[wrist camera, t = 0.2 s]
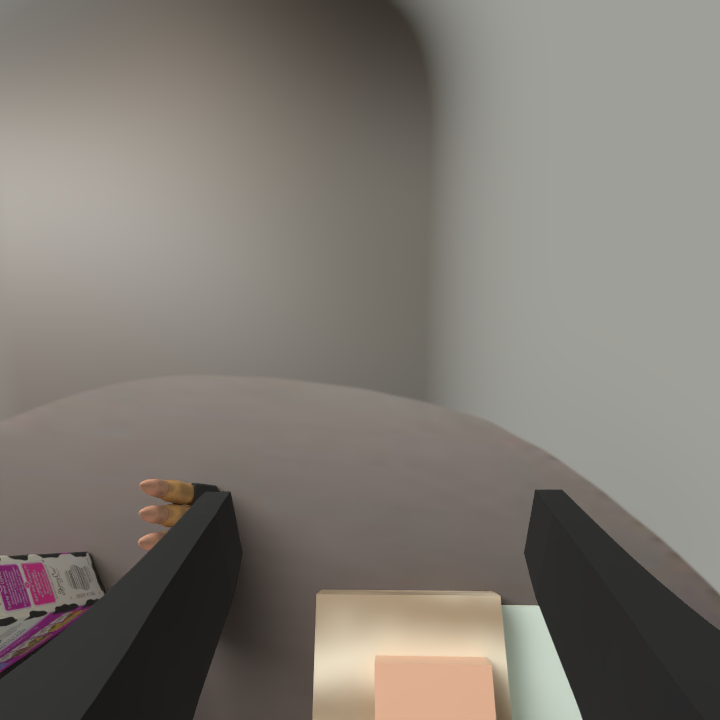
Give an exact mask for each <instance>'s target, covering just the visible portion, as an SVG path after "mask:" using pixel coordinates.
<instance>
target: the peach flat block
mask: <svg viewBox="0 0 720 720" xmlns="http://www.w3.org/2000/svg"><path fill="white" fill-rule="evenodd" d="M375 720H496V711H495V699H494V687H493V675H492V665H491V664H490V662H489V661H488V660H487V659H486V657H457V656H396V655H375Z"/></svg>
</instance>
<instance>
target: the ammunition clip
mask: <svg viewBox="0 0 720 720" xmlns="http://www.w3.org/2000/svg"><path fill="white" fill-rule="evenodd" d="M140 488H141V490H142V491H144V492H145V493H146V494H149V495H151V496H154V497H157V498H161V499H162V500H164V501H166V502H171V503H173V504H169V505H166V506H165V505H160V506H159V505H154V506H148V507H145V508H143V509H142V510H140V511H139V516H140V517H141V518H142V519H143V520H145V521H148V522H151V523H157V524H161V525H163V526H166V527H173V526H174V524H175V523H176V522H177V521H178V520H179V519H180V518H181V517H182V516H183V515H184V514H185V513H186V512H187V510H188V509H189V508H190V507H191V506H192V505H193V504H194V503H195V502H196V501H197V500H198V499H199V498H200V497H201V496H202V495H203V494H204V493H205V492H217V486H213V485H206V484H199V483H192V484H190V483H185V482H181V481H177V480H160V479H149V480H145V481H143V482H141V483H140ZM184 505H190V506H184ZM168 531H169V530H167V531H165V532H157V533H151V534H148V535H145V536H143V537H142V538H141V539H140V540H139V541H138V544H139V546H140V547H142V548H143V549H146V550H149V551H150V550H151V549H152V548H153V547H154V545H155V544H156V543H157V542H158V541H159V540H160V539H161V538H162V537H163V536H164V535H165V534H166V533H167V532H168Z"/></svg>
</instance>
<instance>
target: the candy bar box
mask: <svg viewBox="0 0 720 720" xmlns="http://www.w3.org/2000/svg"><path fill="white" fill-rule="evenodd" d="M103 595H105V592H104V590H103V587H102V585H101V583H100V581H99V578H98V576H97V573H96V570H95V568H94V565H93V562H92V560H91V557H90V555H89V553H88V552H74V553H54V554H32V555H19V556H0V673H1V672H3V671H4V670H6V669H7V668H9V667H10V666H11V665H13V664H14V663H16V662H17V661H19V660H20V659H22V658H23V657H25V656H26V655H28V654H29V653H31V652H32V651H33V650H35V649H36V648H38V647H39V646H41V645H42V644H44V643H45V642H47V641H48V640H49V639H51V638H52V637H54V636H55V635H57V634H58V633H60V632H61V631H63V630H64V629H66V628H67V627H68V626H69V625H71V624H72V623H73V622H74V621H75V620H77V619H78V618H79V617H80V616H81V615H82V614H84V613H85V612H86V611H87V610H88V609H89V608H90V607H91V606H93V605H94V604H95V603H96V602H97V601H98V600H99V599H100V598H101V597H102V596H103Z"/></svg>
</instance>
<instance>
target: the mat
mask: <svg viewBox="0 0 720 720" xmlns="http://www.w3.org/2000/svg"><path fill="white" fill-rule="evenodd" d="M501 608H502V618H503V629H504V639H505V650H506V661H507V671H508V682H509V693H510V703H511V714H512V720H582V717H581V714H580V711H579V708H578V705H577V703H576V700H575V697H574V695H573V692H572V690H571V687H570V685H569V682H568V680H567V677H566V674H565V672H564V669H563V667H562V664H561V662H560V659H559V656H558V654H557V651H556V649H555V646H554V644H553V641H552V639H551V636H550V633H549V631H548V628H547V626H546V623H545V620H544V618H543V615H542V613H541V610H540V607H539V605H501Z"/></svg>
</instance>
